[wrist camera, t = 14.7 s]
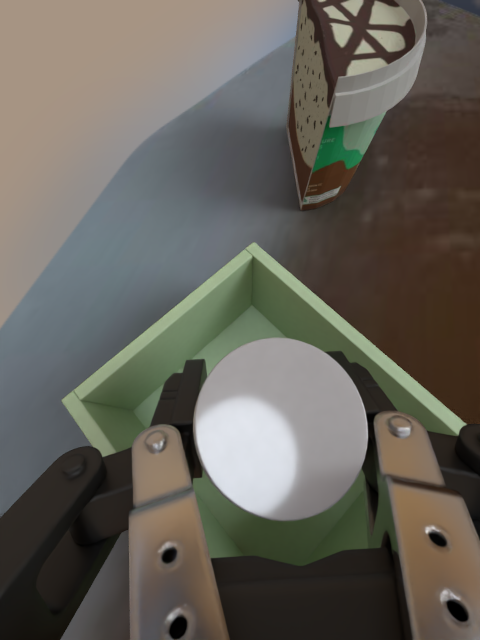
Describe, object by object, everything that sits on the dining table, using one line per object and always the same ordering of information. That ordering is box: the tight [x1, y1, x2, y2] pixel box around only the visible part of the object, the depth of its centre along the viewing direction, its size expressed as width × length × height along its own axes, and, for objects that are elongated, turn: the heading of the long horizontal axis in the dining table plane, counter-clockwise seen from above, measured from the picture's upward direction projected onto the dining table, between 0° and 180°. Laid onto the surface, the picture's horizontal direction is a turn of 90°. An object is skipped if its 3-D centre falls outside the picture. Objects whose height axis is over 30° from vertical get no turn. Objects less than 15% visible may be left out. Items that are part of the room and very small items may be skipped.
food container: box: [286, 0, 427, 211], centre depth 21 cm, size 12×6×10 cm, turn 4°
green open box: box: [61, 242, 467, 566], centre depth 15 cm, size 11×13×7 cm
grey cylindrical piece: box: [193, 338, 368, 521], centre depth 11 cm, size 5×5×8 cm
